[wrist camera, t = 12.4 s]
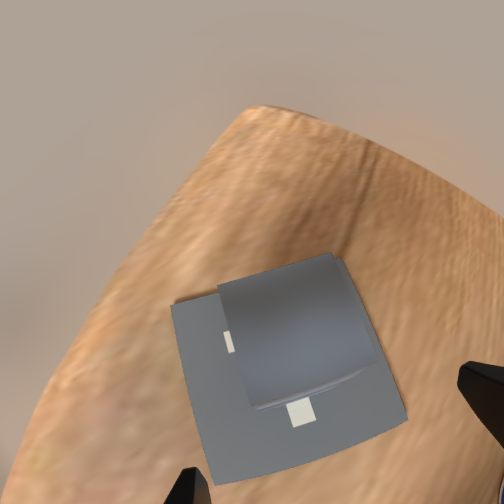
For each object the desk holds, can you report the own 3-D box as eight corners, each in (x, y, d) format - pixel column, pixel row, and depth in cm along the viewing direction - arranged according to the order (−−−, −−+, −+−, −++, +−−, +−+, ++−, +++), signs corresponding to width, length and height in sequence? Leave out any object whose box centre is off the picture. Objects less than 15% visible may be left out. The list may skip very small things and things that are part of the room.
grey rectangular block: (331, 388, 19) (378, 360, 10) (261, 411, 18) (250, 405, 10) (308, 324, 22) (330, 252, 13) (240, 344, 21) (217, 285, 12)
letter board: (405, 420, 18) (408, 419, 17) (216, 484, 16) (214, 485, 16) (339, 260, 25) (341, 256, 24) (172, 308, 24) (169, 304, 23)
